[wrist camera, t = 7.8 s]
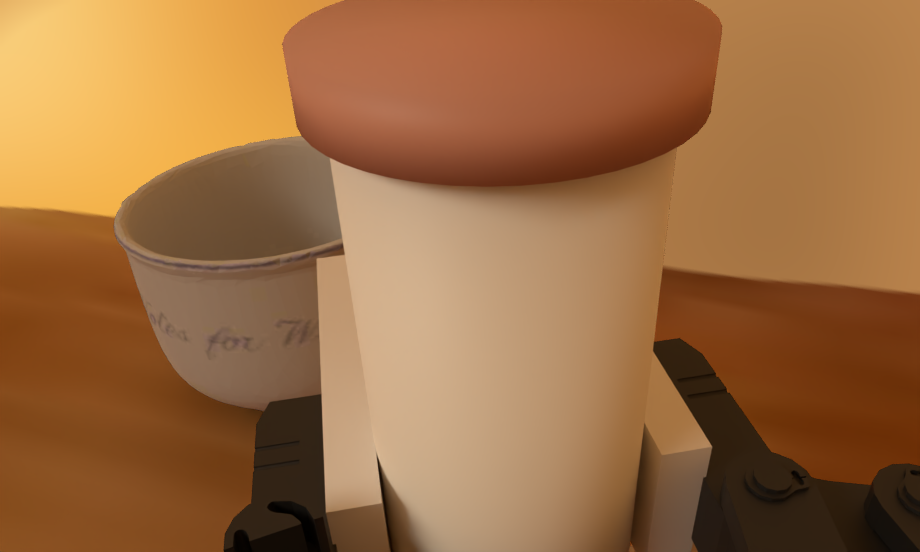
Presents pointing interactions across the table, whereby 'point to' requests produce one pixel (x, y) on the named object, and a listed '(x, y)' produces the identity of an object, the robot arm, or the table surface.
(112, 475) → the table surface
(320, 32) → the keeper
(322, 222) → the teacup
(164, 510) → the table surface
